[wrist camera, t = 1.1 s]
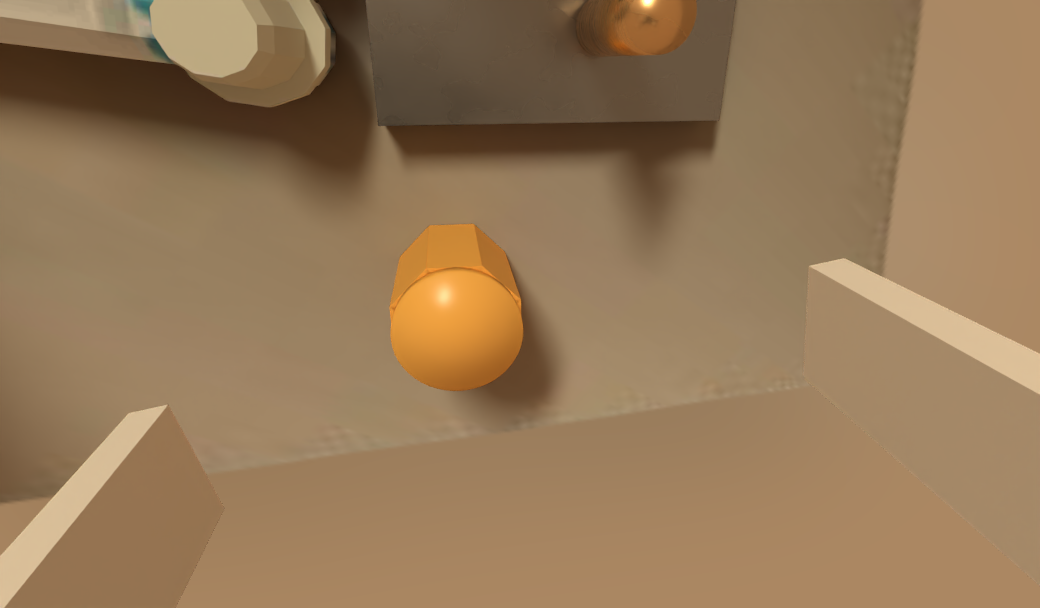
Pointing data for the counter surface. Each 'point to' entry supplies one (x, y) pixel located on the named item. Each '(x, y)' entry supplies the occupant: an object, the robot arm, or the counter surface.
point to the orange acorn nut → (455, 309)
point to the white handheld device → (191, 39)
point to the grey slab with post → (548, 60)
